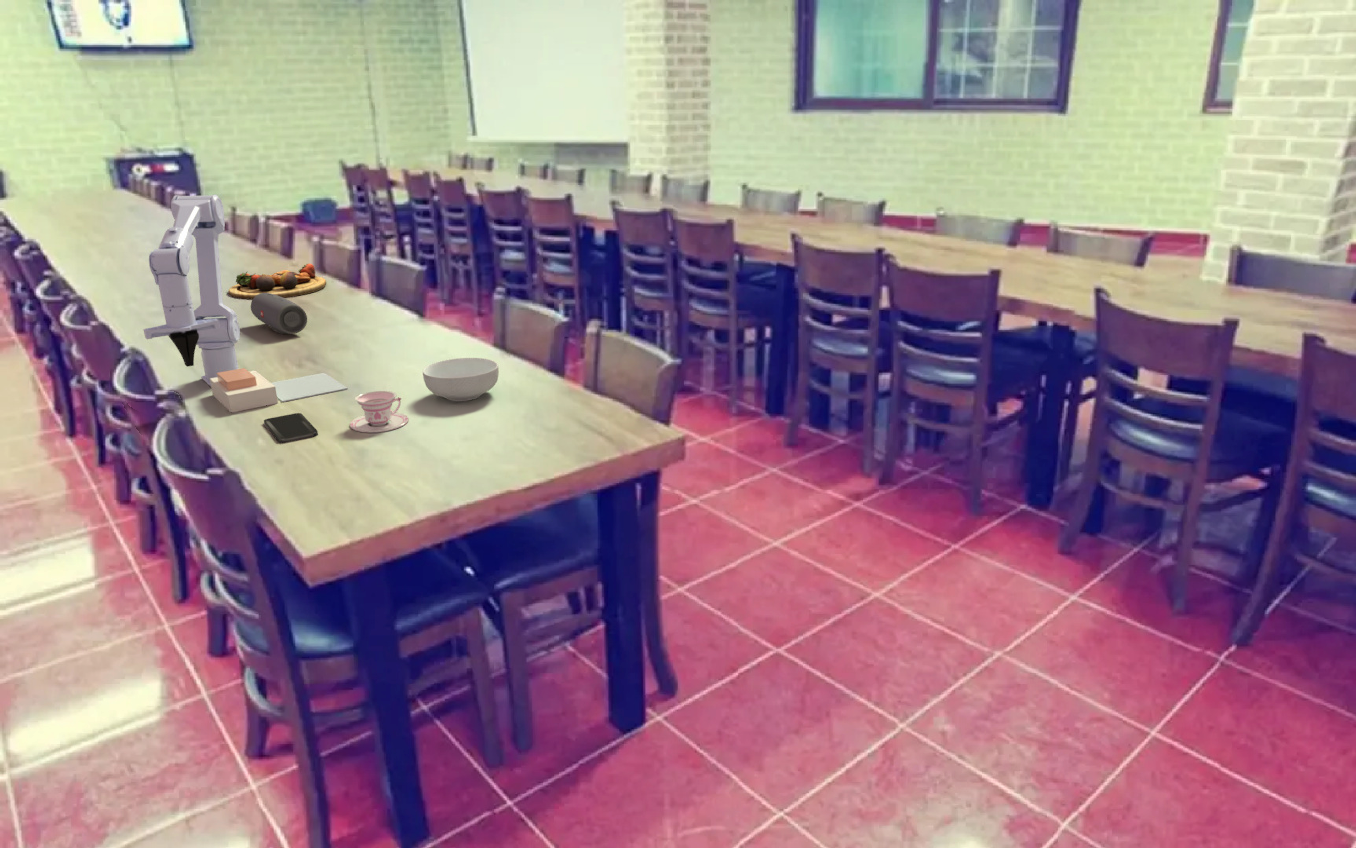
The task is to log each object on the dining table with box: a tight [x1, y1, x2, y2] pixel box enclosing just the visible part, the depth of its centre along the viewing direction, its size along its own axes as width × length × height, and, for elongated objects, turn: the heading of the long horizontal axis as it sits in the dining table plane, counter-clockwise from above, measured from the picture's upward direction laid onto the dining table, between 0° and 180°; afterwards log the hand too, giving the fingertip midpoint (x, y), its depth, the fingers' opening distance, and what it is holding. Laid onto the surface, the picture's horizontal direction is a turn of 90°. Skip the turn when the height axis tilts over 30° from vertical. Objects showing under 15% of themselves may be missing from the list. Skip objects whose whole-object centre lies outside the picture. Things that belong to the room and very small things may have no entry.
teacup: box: [349, 390, 409, 434], centre depth 198 cm, size 12×12×6 cm
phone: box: [263, 412, 319, 444], centre depth 196 cm, size 8×1×15 cm
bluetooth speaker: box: [250, 293, 308, 335], centre depth 272 cm, size 23×9×10 cm, turn 42°
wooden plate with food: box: [227, 263, 327, 300], centre depth 326 cm, size 32×32×8 cm
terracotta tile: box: [217, 367, 257, 391], centre depth 212 cm, size 9×6×2 cm, turn 39°
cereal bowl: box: [422, 357, 499, 402], centre depth 214 cm, size 17×17×7 cm
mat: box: [271, 372, 349, 403], centre depth 222 cm, size 16×15×1 cm
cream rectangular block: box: [210, 370, 279, 413], centre depth 214 cm, size 16×10×4 cm, turn 38°
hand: (189, 365), depth 205 cm, fingers closed
